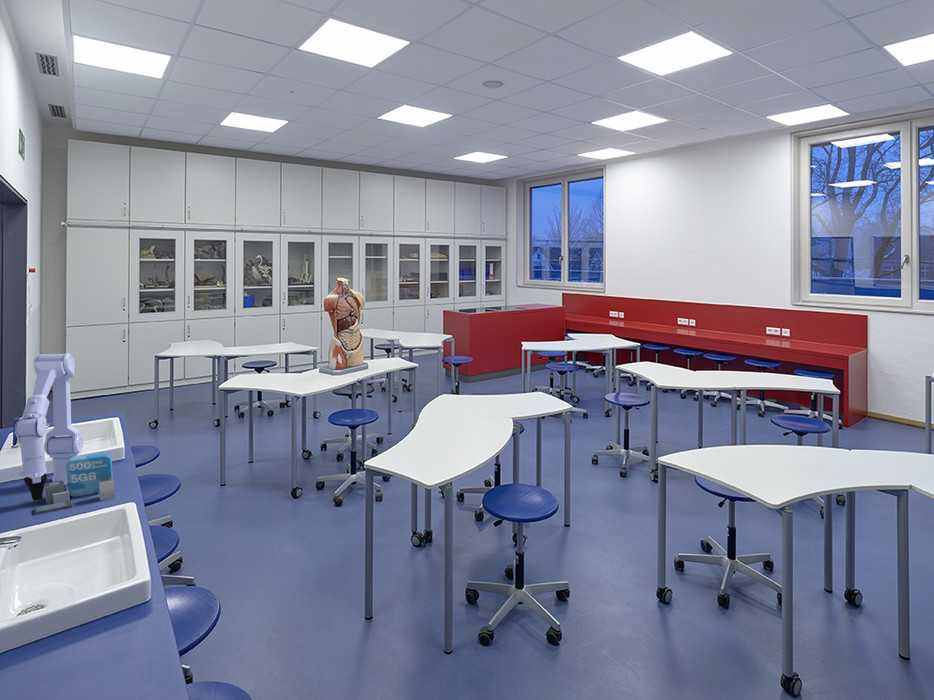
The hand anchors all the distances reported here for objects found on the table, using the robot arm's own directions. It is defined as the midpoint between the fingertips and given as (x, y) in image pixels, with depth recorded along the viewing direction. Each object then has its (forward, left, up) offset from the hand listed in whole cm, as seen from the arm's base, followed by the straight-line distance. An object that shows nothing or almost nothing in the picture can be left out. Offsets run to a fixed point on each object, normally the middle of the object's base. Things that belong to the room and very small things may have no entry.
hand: (37, 499), depth 183 cm
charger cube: (0, +5, -1) cm, 5 cm away
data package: (0, +14, -1) cm, 14 cm away
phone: (+8, +3, -2) cm, 9 cm away
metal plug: (+8, +17, -1) cm, 19 cm away
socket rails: (0, +6, -1) cm, 6 cm away
